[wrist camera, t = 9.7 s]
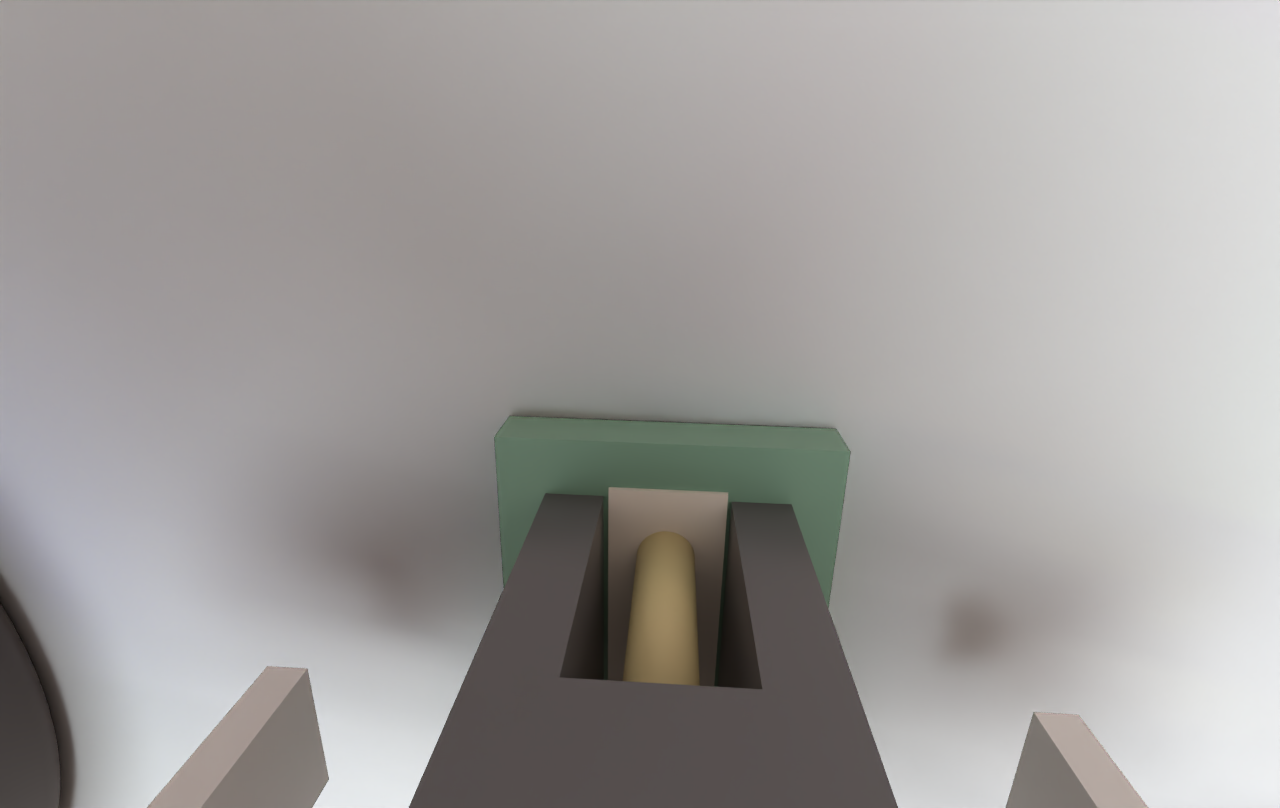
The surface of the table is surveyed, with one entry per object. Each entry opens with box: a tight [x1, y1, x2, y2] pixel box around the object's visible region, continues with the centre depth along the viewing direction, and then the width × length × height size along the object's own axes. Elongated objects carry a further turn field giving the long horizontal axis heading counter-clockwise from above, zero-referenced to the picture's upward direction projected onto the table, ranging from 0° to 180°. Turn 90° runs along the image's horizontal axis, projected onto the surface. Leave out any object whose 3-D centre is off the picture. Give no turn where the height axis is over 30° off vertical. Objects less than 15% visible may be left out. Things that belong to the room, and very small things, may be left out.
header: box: [494, 416, 851, 687], centre depth 12 cm, size 10×7×6 cm
